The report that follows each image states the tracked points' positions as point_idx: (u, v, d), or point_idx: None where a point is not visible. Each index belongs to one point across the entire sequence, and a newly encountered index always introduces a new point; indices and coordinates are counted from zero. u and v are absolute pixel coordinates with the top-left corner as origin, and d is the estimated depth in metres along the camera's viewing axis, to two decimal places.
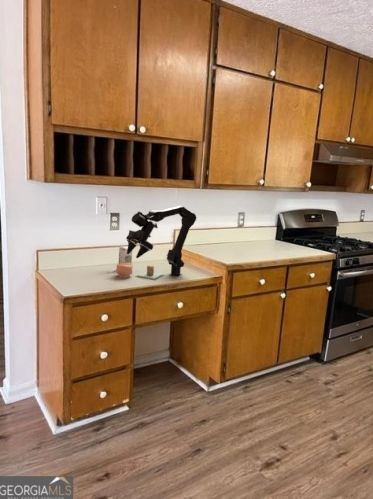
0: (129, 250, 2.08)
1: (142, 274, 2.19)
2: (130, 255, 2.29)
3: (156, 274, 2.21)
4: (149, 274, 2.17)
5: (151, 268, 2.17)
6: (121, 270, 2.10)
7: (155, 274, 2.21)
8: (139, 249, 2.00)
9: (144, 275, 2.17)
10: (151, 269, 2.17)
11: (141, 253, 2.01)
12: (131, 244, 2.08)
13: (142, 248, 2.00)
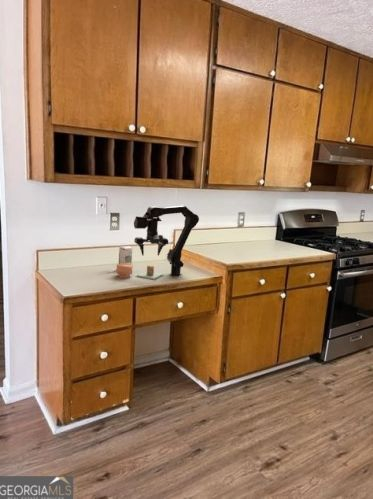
0: None
1: (142, 274, 2.19)
2: (130, 255, 2.29)
3: (156, 274, 2.21)
4: (149, 274, 2.17)
5: (151, 268, 2.17)
6: (121, 270, 2.10)
7: (155, 274, 2.21)
8: (159, 248, 2.16)
9: (144, 275, 2.17)
10: (151, 269, 2.17)
11: None
12: None
13: (162, 246, 2.17)
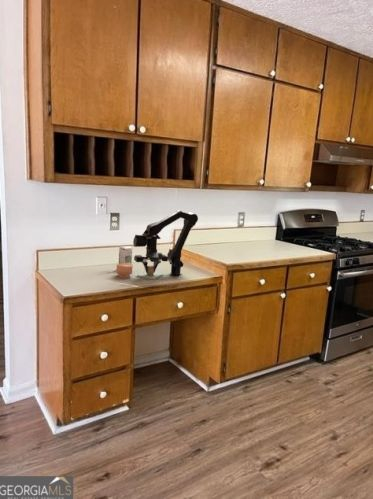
0: None
1: (142, 274, 2.19)
2: (130, 255, 2.29)
3: (156, 274, 2.21)
4: (149, 274, 2.17)
5: (151, 268, 2.17)
6: (121, 270, 2.10)
7: (155, 274, 2.21)
8: (155, 265, 2.18)
9: (144, 275, 2.17)
10: (151, 269, 2.17)
11: None
12: None
13: None
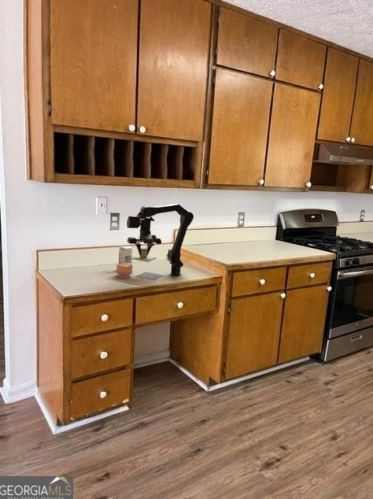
0: None
1: (135, 257, 2.15)
2: (130, 255, 2.29)
3: (149, 257, 2.17)
4: (142, 257, 2.14)
5: (145, 251, 2.13)
6: (121, 270, 2.10)
7: (149, 257, 2.18)
8: (148, 248, 2.15)
9: (137, 257, 2.13)
10: (145, 252, 2.14)
11: None
12: None
13: (151, 246, 2.15)
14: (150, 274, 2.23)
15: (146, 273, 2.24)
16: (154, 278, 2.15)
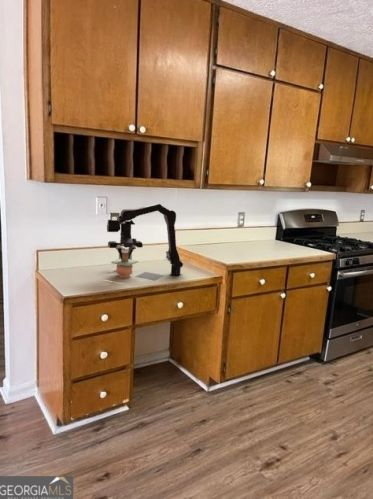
0: None
1: (116, 261, 2.13)
2: None
3: (131, 261, 2.15)
4: (123, 260, 2.12)
5: (126, 254, 2.11)
6: (121, 270, 2.10)
7: (130, 260, 2.16)
8: (130, 251, 2.12)
9: (118, 261, 2.11)
10: (126, 256, 2.11)
11: None
12: None
13: (132, 249, 2.13)
14: (150, 274, 2.23)
15: (146, 273, 2.24)
16: (154, 278, 2.15)
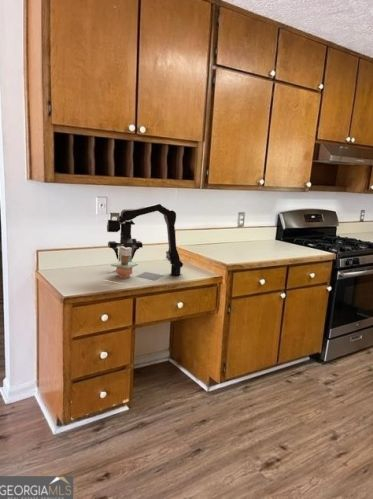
0: None
1: (116, 263, 2.13)
2: (130, 255, 2.29)
3: (131, 263, 2.15)
4: (123, 263, 2.12)
5: (125, 257, 2.11)
6: (121, 270, 2.10)
7: (130, 263, 2.16)
8: (133, 251, 2.13)
9: (118, 264, 2.12)
10: (126, 258, 2.12)
11: None
12: None
13: (136, 249, 2.14)
14: (150, 274, 2.23)
15: (146, 273, 2.24)
16: (154, 278, 2.15)
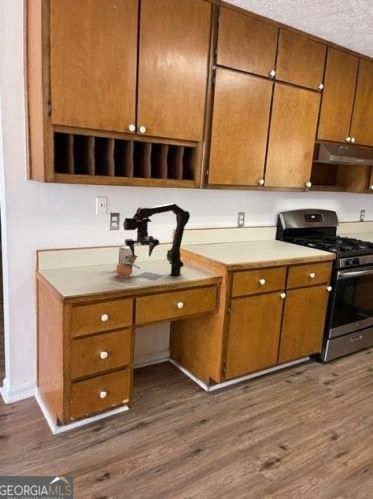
0: None
1: None
2: None
3: None
4: (130, 261, 2.13)
5: (135, 256, 2.14)
6: (121, 270, 2.10)
7: None
8: (151, 249, 2.13)
9: None
10: (135, 257, 2.14)
11: None
12: None
13: (153, 247, 2.14)
14: (150, 274, 2.23)
15: (146, 273, 2.24)
16: (154, 278, 2.15)
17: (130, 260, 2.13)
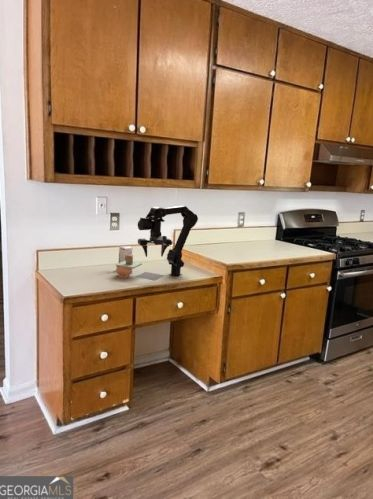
0: None
1: (121, 263, 2.14)
2: None
3: (135, 263, 2.16)
4: (128, 263, 2.13)
5: (130, 257, 2.12)
6: (121, 270, 2.10)
7: (134, 263, 2.17)
8: (163, 249, 2.14)
9: (123, 264, 2.12)
10: (130, 258, 2.13)
11: None
12: None
13: None
14: (150, 274, 2.23)
15: (146, 273, 2.24)
16: (154, 278, 2.15)
17: (128, 263, 2.13)
